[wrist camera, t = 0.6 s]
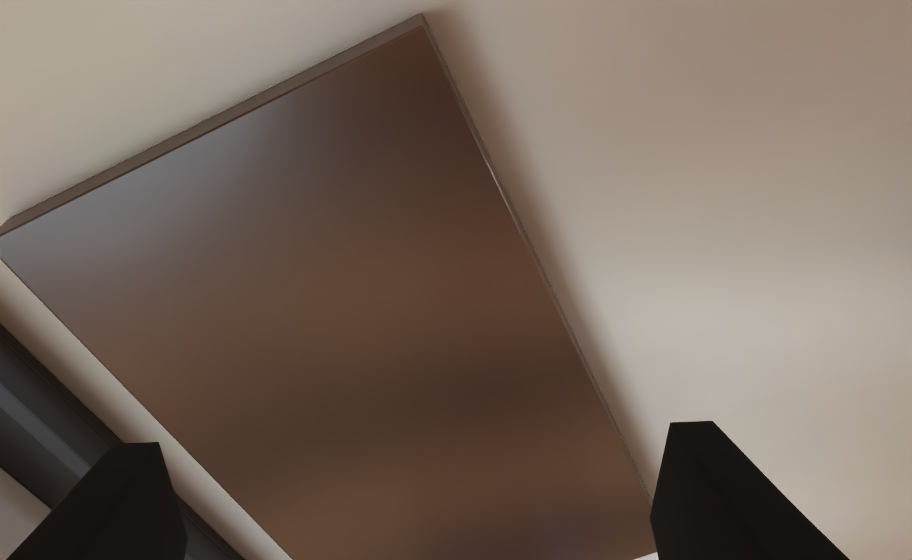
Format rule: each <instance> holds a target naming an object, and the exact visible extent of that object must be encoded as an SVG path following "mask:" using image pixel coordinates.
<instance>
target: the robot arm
mask: <svg viewBox="0 0 912 560" xmlns="http://www.w3.org/2000/svg"><path fill="white" fill-rule="evenodd" d="M650 522H651V527H652V531H653V536H654V540H655V544H656V549H657V553H658V557H659V560H849V559H848V558H847V557H846V556H845V555H844V554H843V553H842V552H841V551H840V550H839V549H838V548H837V547H836V546H835V545H834V544H833V543H832V542H831V541H830V540H829V539H828V538H827V537H826V536H825V535H824V534H823V533H822V532H821V531H819V530H818V529H817V528H816V527H815V526H814V525H813V524H812V523H811V522H810V521H809V520H808V519H807V518H806V517H805V516H804V515H803V514H802V513H801V512H800V511H799V510H798V509H797V508H796V507H795V506H794V505H793V504H792V503H791V502H790V501H789V500H788V499H787V498H786V497H785V496H784V495H783V494H782V493H781V492H780V491H779V490H778V488H777V487H776V486H775V485H774V484H773V483H772V482H771V481H770V480H769V479H768V478H767V477H766V476H765V475H764V474H763V473H762V472H761V471H760V470H759V469H758V468H757V467H756V466H755V465H754V464H753V463H752V462H751V460H750V459H749V458H748V457H747V456H746V455H745V454H744V453H743V452H742V451H741V450H740V449H739V448H738V447H737V446H736V445H735V444H734V443H733V442H732V441H731V440H730V439H729V438H728V437H727V435H726V434H725V433H724V432H723V431H722V430H721V429H720V428H719V427H718V426H717V425H716V424H715V423H714V422H713V421H700V422H674V423H670V427H669V431H668V436H667V440H666V445H665V449H664V454H663V458H662V463H661V468H660V472H659V477H658V481H657V486H656V490H655V495H654V499H653V504H652V509H651V513H650ZM187 543H188V535H187V532H186V529H185V526H184V522H183V519H182V516H181V513H180V510H179V506H178V503H177V500H176V497H175V494H174V490H173V487H172V484H171V481H170V477H169V474H168V471H167V468H166V465H165V461H164V458H163V455H162V452H161V448H160V445H159V442H149V443H122V444H113V445H112V446H111V447H110V448H109V449H108V450H107V451H106V452H105V454H104V455H103V456H102V457H101V458H100V459H99V460H98V461H97V462H96V463H95V464H94V465H93V466H92V467H91V468H90V470H89V471H88V472H87V473H86V474H85V475H84V476H83V477H82V478H81V479H80V480H79V482H78V483H77V484H76V485H75V486H74V487H73V488H72V489H71V490H70V491H69V492H68V494H67V495H66V496H65V497H64V498H63V499H62V500H61V501H60V502H59V503H58V505H57V506H56V507H55V508H54V509H53V510H52V511H51V512H50V513H49V514H48V515H47V516H46V518H45V519H44V520H43V521H42V522H41V523H40V524H39V525H38V526H37V527H36V528H35V529H34V530H33V532H32V533H31V534H30V535H29V536H28V537H27V538H26V539H25V540H24V541H23V542H22V543H21V544H20V545H19V546H18V547H17V548H16V549H15V550H14V551H13V553H12V554H11V555H10V556H9V557H8V558H7V559H6V560H184V559H185V553H186V548H187Z"/></svg>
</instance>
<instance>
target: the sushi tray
mask: <svg viewBox="0 0 912 560" xmlns="http://www.w3.org/2000/svg"><path fill="white" fill-rule="evenodd" d="M113 444H122V442H121V441H120V440H119V439H118V438H117V437H116V436H115V435H114V434H113V433H112V432H111V431H110V430H109V429H108V428H107V427H106V426H105V425H104V424H103V423H102V422H101V421H100V420H99V419H98V418H97V417H95V416H94V415H93V414H92V413H91V412H90V411H89V410H88V409H87V408H86V407H85V406H84V405H83V404H82V403H81V402H80V401H79V400H78V399H77V398H76V397H75V396H74V395H73V394H72V393H71V392H70V391H69V390H68V389H66V388H65V387H64V386H63V385H62V384H61V383H60V382H59V381H58V380H57V379H56V378H55V377H54V376H53V375H52V374H51V373H50V372H49V371H48V370H47V369H46V368H45V367H44V366H43V365H42V364H41V363H40V362H39V361H38V360H36V359H35V358H34V357H33V356H32V355H31V354H30V353H29V352H28V351H27V350H26V349H25V348H24V347H23V346H22V345H21V344H20V343H19V342H18V341H17V340H16V339H15V338H14V337H13V336H12V335H11V334H10V333H9V332H7V331H6V330H5V329H4V328H3V327H2V326H1V325H0V467H1V468H2V469H3V470H4V471H6V472H7V473H8V474H9V475H10V476H12V477H13V478H14V479H15V480H17V481H18V482H19V483H20V484H21V485H23V486H24V487H25V488H26V489H27V490H29V491H30V492H31V493H32V494H33V495H35V496H36V497H37V498H38V499H39V500H41V501H42V502H43V503H44V504H45V505H47V506H48V507H49V508H50V509H51V511H52V510H53V509H54V508H55V507H56V506H57V505H58V503H59V502H60V501H61V500H62V499H63V498H64V497H65V496H66V495H67V494H68V492H69V491H70V490H71V489H72V488H73V487H74V486H75V485H76V484H77V483H78V482H79V480H80V479H81V478H82V477H83V476H84V475H85V474H86V473H87V472H88V471H89V470H90V468H91V467H92V466H93V465H94V464H95V463H96V462H97V461H98V460H99V459H100V458H101V457H102V456H103V455H104V454H105V452H106V451H107V450H108V449H109V448H110V447H111V446H112V445H113ZM174 494H175V493H174ZM175 497H176V500H177V503H178V506H179V510H180V513H181V516H182V519H183V522H184V526H185V529H186V532H187V535H188V543H187V548H186V553H185V559H184V560H244V559H242V558H241V557H240V556H239V555H238V554H237V553H236V552H235V551H234V550H233V549H232V548H231V547H230V546H229V545H228V544H227V543H226V542H225V541H224V540H223V539H222V538H221V537H220V536H219V535H218V534H217V533H216V532H215V531H214V530H212V529H211V528H210V527H209V526H208V525H207V524H206V523H205V522H204V521H203V520H202V519H201V518H200V517H199V516H198V515H197V514H196V513H195V512H194V511H193V510H192V509H191V508H190V507H189V506H188V505H187V504H186V503H185V502H183V501H182V500H181V499H180V498H179V497H178V496H177V495H176V494H175Z"/></svg>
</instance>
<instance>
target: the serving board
mask: <svg viewBox="0 0 912 560" xmlns="http://www.w3.org/2000/svg"><path fill="white" fill-rule="evenodd" d="M0 259H1V260H2V261H3V262H4V263H5V264H6V265H7V266H8V267H9V268H10V269H11V271H12V272H13V273H14V274H15V275H16V276H17V277H18V278H19V279H20V280H21V281H22V282H23V283H24V284H25V285H26V286H27V287H28V288H29V289H30V290H31V291H32V292H33V293H34V294H35V295H36V296H37V297H38V298H39V299H40V300H41V301H42V302H43V303H44V304H45V305H46V307H47V308H48V309H49V310H50V311H51V312H52V313H53V314H54V315H55V316H56V317H57V318H58V319H59V320H60V321H61V322H62V323H63V324H64V325H65V326H66V327H67V328H68V329H69V330H70V331H71V332H72V333H73V334H74V335H75V336H76V337H77V338H78V339H79V340H80V342H81V343H82V344H83V345H84V346H85V347H86V348H87V349H88V350H89V351H90V352H91V353H92V354H93V355H94V356H95V357H96V358H97V359H98V360H99V361H100V362H101V363H102V364H103V365H104V366H105V367H106V368H107V369H108V370H109V371H110V372H111V373H112V374H113V375H114V376H115V378H116V379H117V380H118V381H119V382H120V383H121V384H122V385H123V386H124V387H125V388H126V389H127V390H128V391H129V392H130V393H131V394H132V395H133V396H134V397H135V398H136V399H137V400H138V401H139V402H140V403H141V404H142V405H143V406H144V407H145V408H146V409H147V410H148V411H149V412H150V414H151V415H152V416H153V417H154V418H155V419H156V420H157V421H158V422H159V423H160V424H161V425H162V426H163V427H164V428H165V429H166V430H167V431H168V432H169V433H170V434H171V435H172V436H173V437H174V438H175V439H176V440H177V441H178V442H179V443H180V444H181V445H182V446H183V447H184V448H185V450H186V451H187V452H188V453H189V454H190V455H191V456H192V457H193V458H194V459H195V460H196V461H197V462H198V463H199V464H200V465H201V466H202V467H203V468H204V469H205V470H206V471H207V472H208V473H209V474H210V475H211V476H212V477H213V478H214V479H215V480H216V481H217V482H218V483H219V484H220V486H221V487H222V488H223V489H224V490H225V491H226V492H227V493H228V494H229V495H230V496H231V497H232V498H233V499H234V500H235V501H236V502H237V503H238V504H239V505H240V506H241V507H242V508H243V509H244V510H245V511H246V512H247V513H248V514H249V515H250V516H251V517H252V518H253V519H254V520H255V522H256V523H257V524H258V525H259V526H260V527H261V528H262V529H263V530H264V531H265V532H266V533H267V534H268V535H269V536H270V537H271V538H272V539H273V540H274V541H275V542H276V543H277V544H278V545H279V546H280V547H281V548H282V549H283V550H284V551H285V552H286V553H287V554H288V555H289V556H290V558H291V559H292V560H633V559H636V558H639V557H642V556H646V555H649V554H652V553H655V552H657V549H656V544H655V540H654V536H653V531H652V527H651V522H650V513H651V509H652V504H653V501H652V499H651V497H650V495H649V493H648V491H647V489H646V486H645V484H644V482H643V480H642V478H641V476H640V474H639V472H638V469H637V467H636V465H635V463H634V461H633V459H632V457H631V455H630V453H629V450H628V448H627V446H626V444H625V442H624V440H623V438H622V436H621V434H620V431H619V429H618V427H617V425H616V423H615V421H614V419H613V417H612V414H611V412H610V410H609V408H608V406H607V404H606V402H605V400H604V398H603V395H602V393H601V391H600V389H599V387H598V385H597V383H596V381H595V378H594V376H593V374H592V372H591V370H590V368H589V366H588V364H587V362H586V359H585V357H584V355H583V353H582V351H581V349H580V347H579V345H578V342H577V340H576V338H575V336H574V334H573V332H572V330H571V328H570V326H569V323H568V321H567V319H566V317H565V315H564V313H563V311H562V309H561V307H560V304H559V302H558V300H557V298H556V296H555V294H554V292H553V290H552V287H551V285H550V283H549V281H548V279H547V277H546V275H545V273H544V271H543V268H542V266H541V264H540V262H539V260H538V258H537V256H536V254H535V251H534V249H533V247H532V245H531V243H530V241H529V239H528V237H527V235H526V232H525V230H524V228H523V226H522V224H521V222H520V220H519V218H518V216H517V213H516V211H515V209H514V207H513V205H512V203H511V201H510V199H509V196H508V194H507V192H506V190H505V188H504V186H503V184H502V182H501V180H500V177H499V175H498V173H497V171H496V169H495V167H494V165H493V163H492V160H491V158H490V156H489V154H488V152H487V150H486V148H485V146H484V144H483V141H482V139H481V137H480V135H479V133H478V131H477V129H476V127H475V124H474V122H473V120H472V118H471V116H470V114H469V112H468V110H467V108H466V105H465V103H464V101H463V99H462V97H461V95H460V93H459V91H458V89H457V86H456V84H455V82H454V80H453V78H452V76H451V74H450V72H449V69H448V67H447V65H446V63H445V61H444V59H443V57H442V55H441V53H440V50H439V48H438V46H437V44H436V42H435V40H434V38H433V36H432V33H431V31H430V29H429V27H428V25H427V23H426V21H425V19H424V17H423V15H422V14H418V15H416V16H414V17H412V18H410V19H408V20H406V21H404V22H402V23H400V24H398V25H396V26H394V27H392V28H390V29H388V30H386V31H384V32H382V33H380V34H378V35H376V36H374V37H372V38H370V39H368V40H366V41H364V42H362V43H360V44H358V45H356V46H354V47H352V48H350V49H348V50H346V51H344V52H342V53H340V54H338V55H336V56H334V57H332V58H330V59H328V60H326V61H324V62H322V63H320V64H318V65H316V66H314V67H312V68H310V69H308V70H306V71H304V72H302V73H300V74H298V75H296V76H294V77H292V78H290V79H288V80H286V81H284V82H282V83H280V84H278V85H276V86H274V87H272V88H270V89H268V90H266V91H264V92H262V93H260V94H258V95H256V96H254V97H252V98H250V99H248V100H246V101H244V102H242V103H240V104H238V105H236V106H234V107H232V108H230V109H228V110H226V111H224V112H222V113H220V114H218V115H216V116H214V117H212V118H210V119H208V120H206V121H204V122H202V123H200V124H198V125H196V126H194V127H192V128H190V129H188V130H186V131H184V132H182V133H180V134H178V135H176V136H174V137H172V138H170V139H168V140H166V141H164V142H162V143H160V144H158V145H156V146H154V147H152V148H150V149H148V150H146V151H144V152H142V153H140V154H138V155H136V156H134V157H132V158H130V159H128V160H126V161H124V162H122V163H120V164H118V165H116V166H114V167H112V168H110V169H108V170H106V171H104V172H102V173H100V174H98V175H96V176H94V177H92V178H90V179H88V180H86V181H84V182H82V183H80V184H78V185H76V186H74V187H72V188H70V189H68V190H66V191H64V192H62V193H60V194H58V195H56V196H54V197H52V198H50V199H48V200H46V201H44V202H42V203H40V204H38V205H36V206H34V207H32V208H30V209H28V210H26V211H24V212H22V213H20V214H18V215H16V216H14V217H12V218H10V219H8V220H7V221H6V222H5V223H4V224H3V225H2V226H1V227H0Z"/></svg>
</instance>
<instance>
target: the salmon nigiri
mask: <svg viewBox="0 0 912 560" xmlns="http://www.w3.org/2000/svg"><path fill="white" fill-rule="evenodd" d="M50 512H51V509H50V508H49V507H48V506H47V505H45V504H44V503H43V502H42V501H41V500H39V499H38V498H37V497H36V496H35V495H33V494H32V493H31V492H30V491H29V490H27V489H26V488H25V487H24V486H23V485H21V484H20V483H19V482H18V481H17V480H15V479H14V478H13V477H12V476H10V475H9V474H8V473H7V472H6V471H4V470H3V469H2V468H1V467H0V560H6V559H7V558H8V557H9V556H10V555H11V554H12V553H13V551H14V550H15V549H16V548H17V547H18V546H19V545H20V544H21V543H22V542H23V541H24V540H25V539H26V538H27V537H28V536H29V535H30V534H31V533H32V532H33V530H34V529H35V528H36V527H37V526H38V525H39V524H40V523H41V522H42V521H43V520H44V519H45V518H46V516H47V515H48V514H49V513H50Z"/></svg>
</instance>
